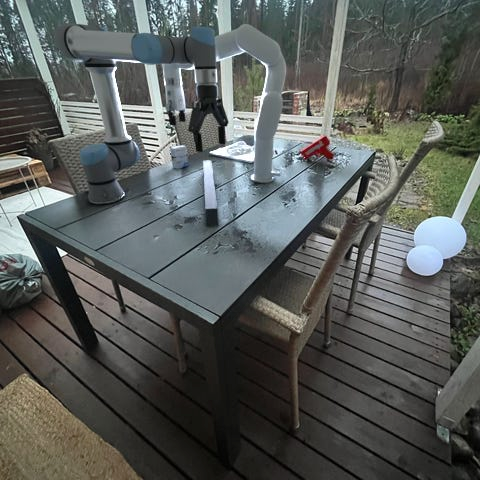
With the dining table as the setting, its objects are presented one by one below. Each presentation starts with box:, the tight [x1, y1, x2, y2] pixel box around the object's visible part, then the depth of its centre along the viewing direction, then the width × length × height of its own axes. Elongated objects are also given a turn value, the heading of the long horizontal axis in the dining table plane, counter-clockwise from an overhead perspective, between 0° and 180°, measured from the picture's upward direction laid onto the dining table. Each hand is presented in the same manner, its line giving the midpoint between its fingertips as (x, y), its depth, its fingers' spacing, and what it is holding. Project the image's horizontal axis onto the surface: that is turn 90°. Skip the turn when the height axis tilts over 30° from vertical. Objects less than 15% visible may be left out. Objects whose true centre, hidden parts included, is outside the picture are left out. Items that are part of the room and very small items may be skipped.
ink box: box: [169, 144, 189, 170], centre depth 162 cm, size 8×5×12 cm, turn 135°
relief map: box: [209, 140, 274, 164], centre depth 187 cm, size 27×35×5 cm
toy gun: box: [299, 134, 335, 162], centre depth 173 cm, size 18×4×15 cm
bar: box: [202, 159, 219, 227], centre depth 127 cm, size 61×4×7 cm, turn 7°
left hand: (211, 147), depth 105 cm, fingers open, 13 cm apart
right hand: (178, 123), depth 132 cm, fingers open, 9 cm apart
